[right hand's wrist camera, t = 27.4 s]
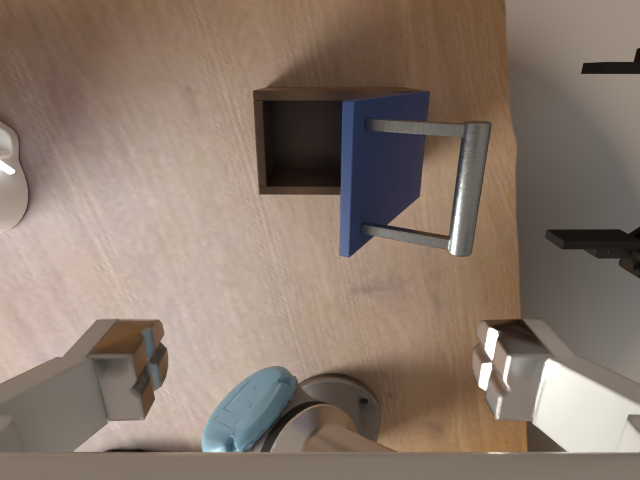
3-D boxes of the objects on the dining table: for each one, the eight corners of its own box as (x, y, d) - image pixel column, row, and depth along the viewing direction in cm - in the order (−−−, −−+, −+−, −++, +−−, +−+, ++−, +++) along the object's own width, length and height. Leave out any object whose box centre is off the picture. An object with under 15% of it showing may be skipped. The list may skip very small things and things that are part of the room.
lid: (338, 255, 28) (462, 282, 24) (342, 100, 24) (489, 105, 20) (411, 195, 41) (497, 207, 38) (421, 90, 38) (517, 93, 34)
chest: (269, 173, 50) (258, 194, 42) (265, 87, 47) (252, 90, 38) (398, 173, 50) (414, 195, 42) (404, 87, 47) (424, 90, 38)
